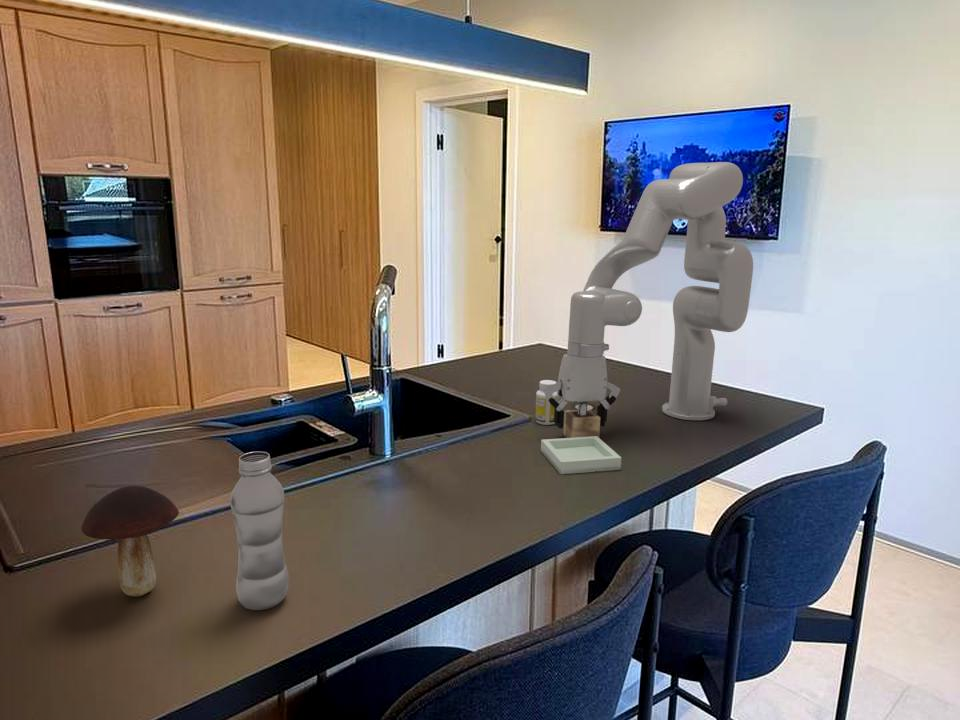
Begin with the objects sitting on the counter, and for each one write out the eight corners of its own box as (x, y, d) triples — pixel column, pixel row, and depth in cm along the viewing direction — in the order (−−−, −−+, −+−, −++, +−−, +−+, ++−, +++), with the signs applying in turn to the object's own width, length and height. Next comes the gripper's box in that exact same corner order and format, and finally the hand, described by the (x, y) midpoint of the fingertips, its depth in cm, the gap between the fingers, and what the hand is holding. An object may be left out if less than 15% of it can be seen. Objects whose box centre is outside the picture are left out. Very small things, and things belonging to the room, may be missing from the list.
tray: (596, 447, 142) (596, 436, 142) (620, 469, 130) (621, 457, 130) (540, 450, 139) (541, 439, 139) (560, 474, 128) (561, 462, 127)
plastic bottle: (225, 610, 84) (213, 462, 80) (260, 582, 90) (251, 444, 86) (267, 622, 82) (257, 471, 77) (300, 593, 88) (293, 451, 83)
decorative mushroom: (137, 565, 94) (126, 466, 90) (203, 579, 91) (193, 477, 87) (71, 609, 84) (55, 500, 80) (142, 626, 81) (129, 513, 77)
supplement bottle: (557, 418, 160) (559, 379, 158) (558, 426, 155) (560, 385, 153) (535, 417, 161) (536, 378, 158) (534, 425, 155) (536, 384, 153)
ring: (586, 431, 152) (588, 407, 150) (600, 443, 144) (602, 419, 143) (562, 432, 150) (563, 409, 149) (574, 445, 143) (575, 420, 142)
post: (583, 436, 149) (585, 393, 146) (586, 439, 147) (589, 395, 144) (575, 436, 148) (577, 393, 146) (578, 439, 146) (580, 396, 144)
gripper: (615, 345, 148) (609, 418, 152) (541, 346, 144) (537, 421, 148) (630, 352, 141) (623, 429, 145) (552, 354, 137) (548, 433, 141)
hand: (579, 425), depth 146 cm, fingers open, 9 cm apart
